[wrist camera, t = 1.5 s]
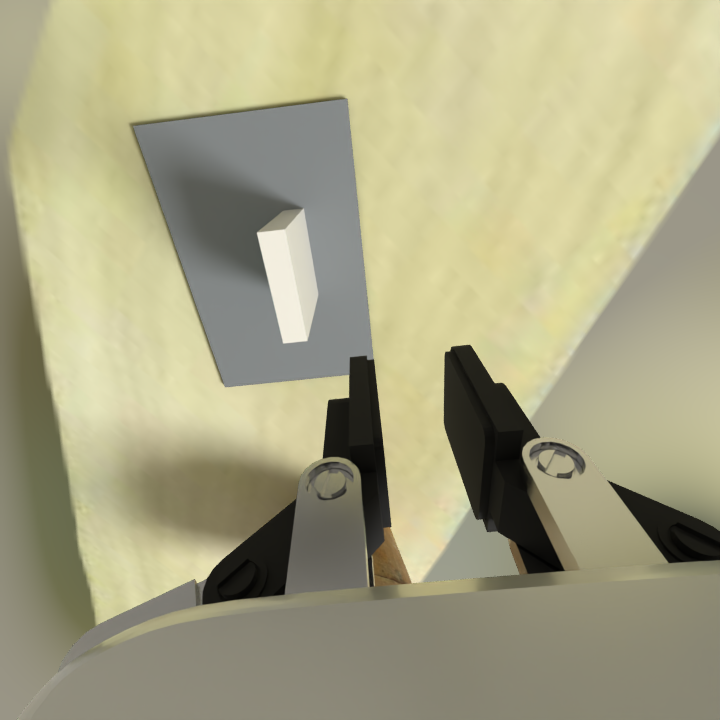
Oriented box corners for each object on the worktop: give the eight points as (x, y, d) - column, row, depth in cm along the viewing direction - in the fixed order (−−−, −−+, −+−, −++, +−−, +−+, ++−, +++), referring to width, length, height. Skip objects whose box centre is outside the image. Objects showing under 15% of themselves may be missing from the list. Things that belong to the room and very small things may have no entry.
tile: (281, 210, 28) (254, 232, 20) (303, 208, 28) (285, 229, 20) (298, 296, 31) (281, 343, 24) (318, 294, 31) (307, 341, 23)
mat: (135, 126, 25) (132, 126, 25) (347, 99, 25) (347, 98, 24) (226, 385, 36) (225, 387, 36) (374, 370, 36) (374, 372, 35)
